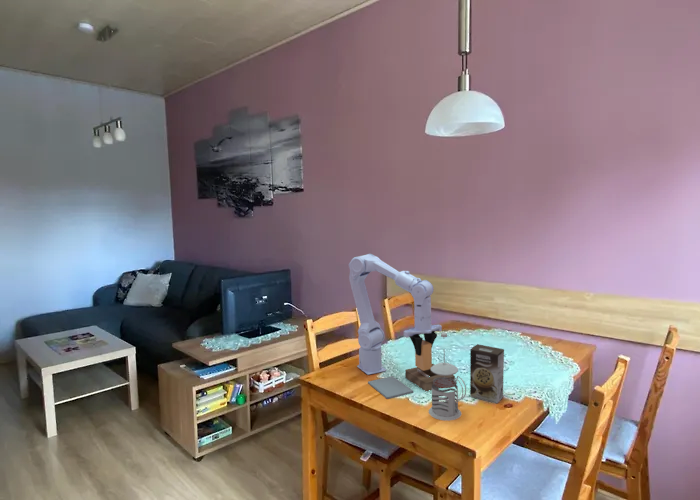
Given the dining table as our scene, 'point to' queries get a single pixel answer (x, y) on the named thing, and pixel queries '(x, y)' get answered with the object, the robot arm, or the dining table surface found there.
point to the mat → (390, 387)
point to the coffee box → (486, 373)
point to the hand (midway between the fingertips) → (423, 353)
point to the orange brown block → (424, 356)
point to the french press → (445, 391)
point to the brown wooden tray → (423, 377)
